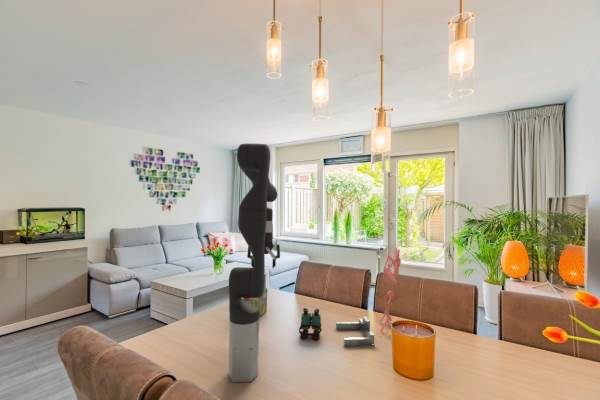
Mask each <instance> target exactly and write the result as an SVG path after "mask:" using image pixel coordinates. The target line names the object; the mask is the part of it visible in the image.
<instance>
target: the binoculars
mask: <svg viewBox="0 0 600 400" xmlns="http://www.w3.org/2000/svg"><path fill="white" fill-rule="evenodd" d="M302 311H303V312H302V313H301V318H300V326H299V327H298V328H299V329H298V333H299V338H300V339H302V340H304V341H305V340H308V338H309V337H310V336H311V339H312V340H313V341H318V340H320V334H321V332H322V330H323V329H322V319H321V318H322V317H321V313H319V312H320V309H318V308H315V309H314V310H313V313H311V312H309V309H307V308H306V307H304V308H303V309H302ZM310 329H311V330H313V331H312V332H310V331H309V330H310Z"/></svg>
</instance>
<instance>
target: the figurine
mask: <svg viewBox="0 0 600 400" xmlns="http://www.w3.org/2000/svg"><path fill="white" fill-rule="evenodd" d="M400 250H401V249H400V248H397V247H395V249H394V258H393V257H392V256H390V255H389V254H387V258H386V260H385V265H384V267H383V272H382V273H383V275H382V280H383V281H384V280H385V276H386V277H387V278H389V279H390V280H391V281H392V282H391V290H389V291H387V294H386V295H384V296H383V297H384V305H385V310H383V312H384V314H383V316H382V318H381V319H380V320H379V322H381V323H382V322H383V320H384V318H385V322H384V323H383V326H382V328H381V329H380V330H381V331H382V332H383V330H384V329H385V326H386V324H388V326H389V328H390V329H391V324H392V322H393V321H392V317H391V315H390V314H389V312H390V311H389V310H390V309H389V307H390V306H389V304H390V301H391V299H392V298H393V297H394V295H395V294H394V291H393V288H394V283H395V284H397V279H396V278H399V274H400V273H399V272H400V271H399V270H400V269H399V267H400V266H401V264H402V261H401V258H400V252H401V251H400ZM388 261H390V262H391V263H390V264H389V266H388V267H387V265H388ZM392 266H393V272H392V270H391V269H390V268H391V267H392ZM386 297H389V300H388V303H387V300H386ZM385 316H386V317H385ZM390 321H392V322H390ZM381 331H380V332H381ZM379 338H381V336H379Z"/></svg>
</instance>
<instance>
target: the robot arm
mask: <svg viewBox="0 0 600 400" xmlns="http://www.w3.org/2000/svg"><path fill="white" fill-rule="evenodd" d="M236 159H237V164H238V166H239V169H241V170H242V172H243V174H244V175H245V176H246V177H247V178H248V179H249V180H250V182H251V183H252V186H251V188H250V189H249V190H248V192H247V193H246V194H245V196H244V197H243V199H242V201H241V202H240V204H239V206H238V207H239V208H238V219H237V226H238V230H239V232H240V233H241V236H242V238H243V239H244V241H245V242H246V244H247V247H248V248H247V256H246V257H247V259H250V260H251V262H250V263H251V264H250V265H251V267H248V266H247V267H242V266H241V267H238V266H237V267H233V268H231V270H230V273H229V276H228V300H229V302H228V303H229V304H228V305H229V306H228V307H229V308H228V309H229V313H228V314H229V320H228V321H229V322H228V323H229V327H228V377H229V379H230V380H231V381H230V382H231V383H243V382H245V383H247V382H253V380H254V379H255V378H256V377H257V376H258V375H259V353H260V352H259V350H260V349H259V348H260V347H259V346H260V345H259V344H260V337H259V336H260V317H259V309H258V308H257V307H255V306H253V305H251V304H249V303H247V302H245V301H244V300H243V298H260V297H261V296H262V295H263V292H264V288H265V283H266V282H265V281H266V280H265V279H266V278H265V277H266V275H265V274H266V273H265V271H266V270H265V267H266V266H265V255H269V256H271V258H272V267H271V268H272V269H274V268H276V266H277V263H276V261H277V259H280V258H281V249H280V248H281V245H280V243H277V244H274V243H273V241H274V240H273V239H274V236H273V234H274V224H273V216H274V215H273V210H274V209H272V208H271V207H268V203H273V202H275V201H276V200H277V197H278V192H277V188H276V187H275V186H274V184H273V183H272V182H271V181H270V177H269V175H270V166H271V148H270V146H269V144H267V143H250V142H249V143H241V144H239V146H238V147H237V152H236ZM273 249H275V250H276V255H275V254H274V252H273Z"/></svg>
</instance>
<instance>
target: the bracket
mask: <svg viewBox="0 0 600 400" xmlns="http://www.w3.org/2000/svg"><path fill="white" fill-rule="evenodd" d="M335 328H336V330H339V331H340V330H360V332H361V331H362V332H361V333H362V335H363V334H364V335H363V336H365V337H358V336H357V337H343V346H344V347H353V346H352V345H372V344H374V345H375V334H374V332H373V331H372V330H371V321H370V319H369V318H368V317H367V315H366V316H362V318H360V317H359V318H358V321H340V322H339V321H336V322H335Z"/></svg>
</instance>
